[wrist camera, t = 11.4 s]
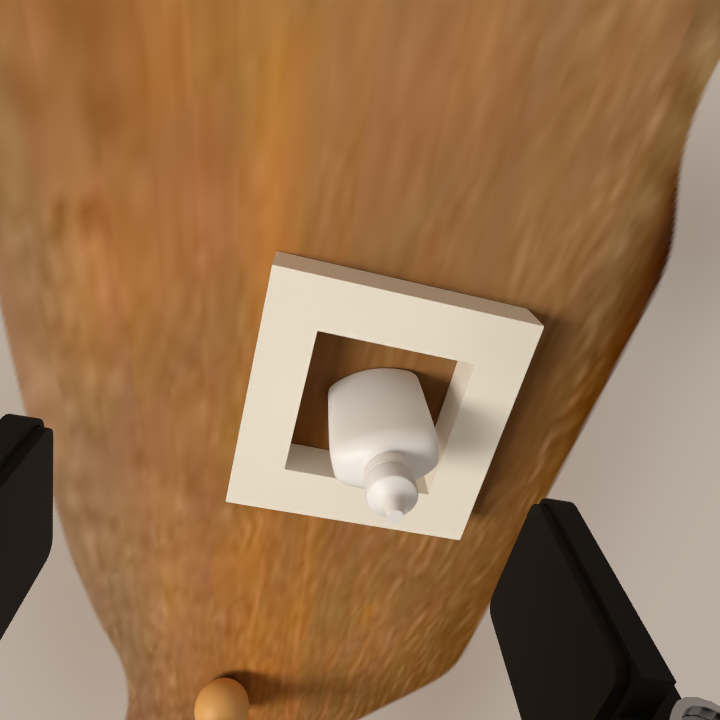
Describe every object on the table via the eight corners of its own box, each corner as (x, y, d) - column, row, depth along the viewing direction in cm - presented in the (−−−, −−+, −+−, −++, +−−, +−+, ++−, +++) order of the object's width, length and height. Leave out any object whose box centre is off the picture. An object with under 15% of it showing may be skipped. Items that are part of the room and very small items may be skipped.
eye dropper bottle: (402, 433, 38) (435, 568, 27) (319, 409, 37) (318, 539, 26) (428, 375, 37) (474, 494, 26) (343, 348, 36) (352, 459, 25)
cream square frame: (276, 250, 33) (272, 264, 30) (526, 308, 35) (544, 326, 32) (232, 472, 39) (225, 501, 36) (450, 510, 41) (459, 540, 38)
